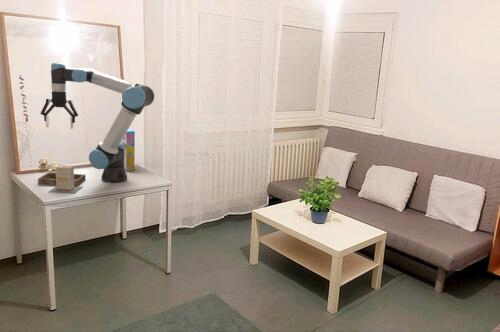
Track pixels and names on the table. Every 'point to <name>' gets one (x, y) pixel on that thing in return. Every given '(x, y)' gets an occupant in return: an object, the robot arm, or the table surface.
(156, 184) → the table surface
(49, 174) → the brown wooden tray
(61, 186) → the supplement box
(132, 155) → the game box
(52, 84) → the robot arm
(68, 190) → the rubber mat
